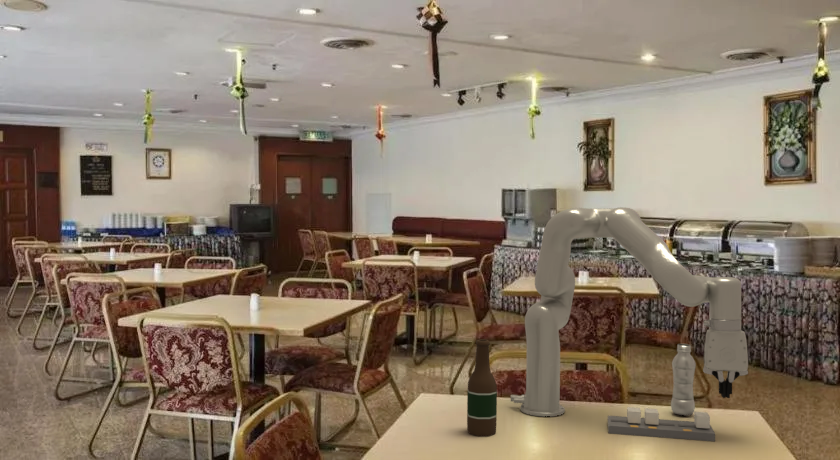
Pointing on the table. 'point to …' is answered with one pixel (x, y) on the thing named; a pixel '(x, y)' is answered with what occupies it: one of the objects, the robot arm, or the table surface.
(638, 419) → the slider
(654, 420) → the slider
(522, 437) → the table surface
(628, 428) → the switch deck
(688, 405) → the plastic bottle
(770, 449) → the table surface
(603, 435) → the table surface
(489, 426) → the beer bottle
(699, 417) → the slider
